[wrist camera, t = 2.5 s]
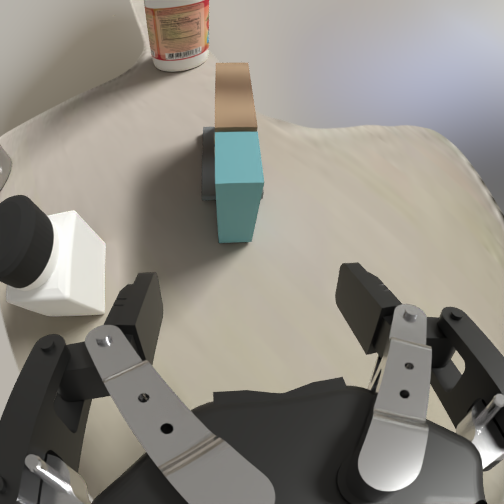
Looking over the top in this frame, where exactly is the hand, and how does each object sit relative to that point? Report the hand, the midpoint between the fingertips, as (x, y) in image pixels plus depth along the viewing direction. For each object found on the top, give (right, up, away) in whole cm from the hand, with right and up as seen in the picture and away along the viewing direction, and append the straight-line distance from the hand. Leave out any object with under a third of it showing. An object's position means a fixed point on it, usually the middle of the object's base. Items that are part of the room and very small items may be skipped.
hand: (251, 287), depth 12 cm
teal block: (-2, +4, +15) cm, 15 cm away
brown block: (-2, +11, +17) cm, 21 cm away
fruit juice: (-12, +33, +25) cm, 43 cm away
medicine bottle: (-17, -1, +12) cm, 21 cm away
